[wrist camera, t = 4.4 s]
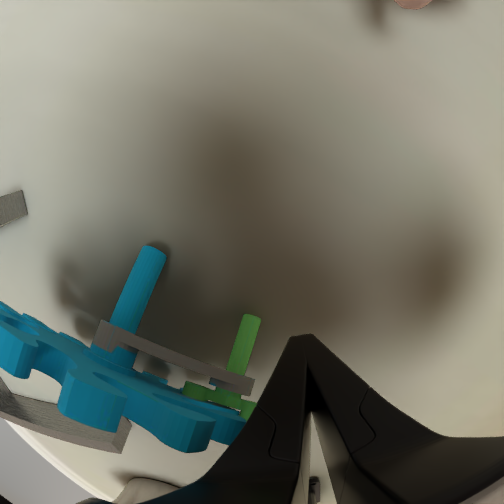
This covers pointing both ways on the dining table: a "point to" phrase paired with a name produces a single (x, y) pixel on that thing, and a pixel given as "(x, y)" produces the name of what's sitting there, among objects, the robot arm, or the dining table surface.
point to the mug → (412, 3)
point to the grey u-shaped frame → (42, 413)
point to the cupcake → (143, 491)
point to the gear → (133, 371)
